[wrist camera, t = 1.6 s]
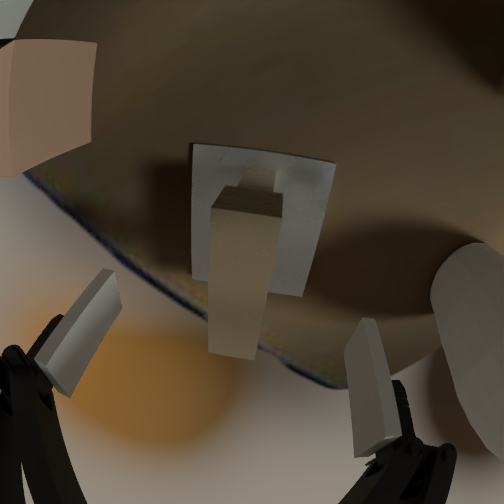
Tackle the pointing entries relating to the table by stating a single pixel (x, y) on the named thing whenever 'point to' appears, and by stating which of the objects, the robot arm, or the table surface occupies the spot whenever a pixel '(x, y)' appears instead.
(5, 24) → the milk
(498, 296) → the bottle
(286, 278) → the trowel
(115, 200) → the table surface
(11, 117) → the tile
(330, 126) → the table surface
